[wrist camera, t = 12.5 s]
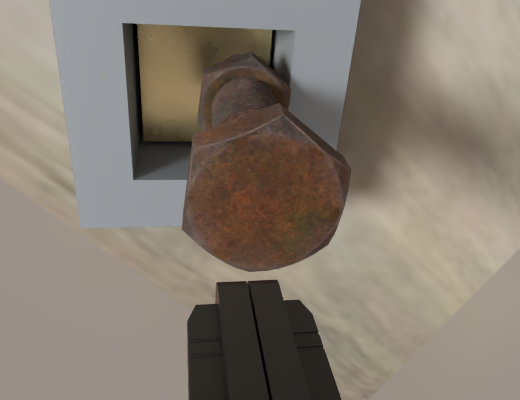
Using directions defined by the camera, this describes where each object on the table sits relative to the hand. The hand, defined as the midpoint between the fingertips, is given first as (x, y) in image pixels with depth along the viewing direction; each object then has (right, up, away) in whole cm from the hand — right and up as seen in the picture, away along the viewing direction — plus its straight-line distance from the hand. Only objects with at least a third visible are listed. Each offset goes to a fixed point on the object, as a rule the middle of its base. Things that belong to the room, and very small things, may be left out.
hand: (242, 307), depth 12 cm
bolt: (-1, +10, +16) cm, 19 cm away
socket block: (-3, +10, +17) cm, 20 cm away
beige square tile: (-3, +10, +17) cm, 20 cm away
